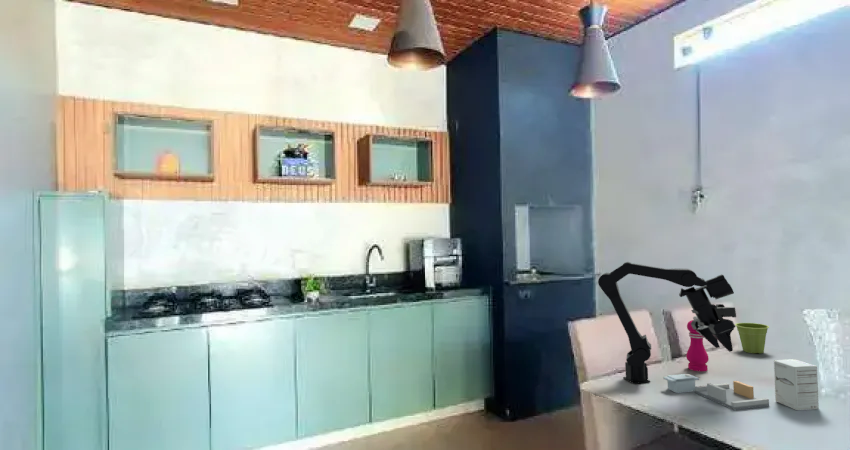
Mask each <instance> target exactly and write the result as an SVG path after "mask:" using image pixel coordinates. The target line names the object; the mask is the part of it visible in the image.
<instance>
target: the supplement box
mask: <svg viewBox="0 0 850 450" xmlns="http://www.w3.org/2000/svg"><path fill="white" fill-rule="evenodd" d="M773 368H774V391H775V392H774V396H775V399H774V400H775V402H777V403H778V404H782V405H783V406H786V407H789V408H791V409H793V410H795V411H806V410H807V411H810V410H811V411H812V410H820V409H819V407H820V406H819V383H818V379H819V378H818V366H817V365H816V364H815V365H814V364H811V363H807V362H805V361H802V360H798V359H795V358H791V359H789V358H787V359H776V360H774V361H773Z"/></svg>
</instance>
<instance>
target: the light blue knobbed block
mask: <svg viewBox="0 0 850 450" xmlns="http://www.w3.org/2000/svg"><path fill="white" fill-rule="evenodd" d="M662 378H663V380H665V381H667V389H668V390H669V391H671V392H674V393H676V394H680V393H690V392H691V393H692V392H695V386H696V381H699V380H700V377H697V376H694V375H693V374H689V373H682V374H681V373H680V374H669V375H667V376H663V377H662Z"/></svg>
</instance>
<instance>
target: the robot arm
mask: <svg viewBox="0 0 850 450" xmlns="http://www.w3.org/2000/svg"><path fill="white" fill-rule="evenodd" d="M628 275H634V276H642V277H645V278H646V277H647V278H654V279H659V280H664V281H668V282H670V283H673V284H676V285H679V286H682V287H685V288H686V289H683V288H682V287H681V288H680V292H678V295H679V297H680V298H682V297H686V298H687V301H688V303H689V304H690V306H691V308H692V309H691V312H692V314H694V315H695V316H697V318H698V319H695V320H694V319H692V320H693V321H692V323H691V325H692V327H693V329H695V330H696V331H697V332H698V333H699V334H701V335H702V336H703V337H704V338H703V339H705V340H706V341H707V342H709V343H710V344H711V345H712V346H713V347H715V348H716V349H719V348H720V344H721V345H722V346H723V347H724V348H725V349H726V350H727V351H728V352H733V351H734V347H733V344H732V343H733V341H732V339H731V338H732V337H731V334H732V332H733V331H734V329H735V328H736V326H735V323H734V321H733V320H731V319H729V318H737V312H736V307H732V306H725V305H724V304H723V303H722V304H721V303H717V304H712V303H711V301H710V299H709V297H710V298H713V299H715V300H719V299H721V298H725V297H728V296H731V295H733V294H734V292H735V291H734V289H733V287H732V286H731V284H730V283H729V282H728V280H727V279H726V277H725V275H724V274H720V275H717V276H714V277H713V278H710V279H707V280H705V279H704V278H701V277H699V276H697V273H695V271H694V270H692V269H690V268H665V267H664V268H663V267H656V266H652V265H651V266H650V265H645V264H638V263H632V262H629V261H626V262H624V263H623V264H621V265H620V266H618V267H617V268H615V269H614V270H613V271H611V272H604V273H602V274H601V275H600V276H599V278H598V280H597V284H598V286H599V288H600V289H601V290H602V292H603V293H604V294H605V296H606V297H607V298H608V299H609V300H610V302H611V304H612V306H613V307H612V308H614V311H615V313H616V316H617V317H618V319H619V321H620V323H621V325H622V327H623V329H624V331H625V333H626V335H627V338H628V342H629V346H630V350H629V351H628V352H627V354H626V357H625V359H626V360H625V361H626V362H625V363H624V365H625V366H624V369H625V376H623V377H622V379H624V380H626V381H627V382H630V383H631V384H635V385H637V384H646V383H651V380H650V379H649V369H648V367H647V363H646V361H648V360H649V359H650V358H651V357H652V355H651V354H652V353H651V352H652V351H651V350H652V344H651V343H650V342H649V341H648V337H647V335H646V334H643V335H642V334H641V333H640V332H639V331H638V327H637V326H636V324H635V322H634V320H633V318H632V316H631V314H630V311H629V310H628V308H627V306H626V304H625V302H624V300H623V297H622V296H621V292H620V289H619V288H620V287H619V284H618V282H619V281H621V280H622V279H623V278H625V277H626V276H628ZM694 286H696V287H694ZM705 290H706V291H705ZM706 292H707V294H708V295H707V294H706ZM719 343H720V344H719Z"/></svg>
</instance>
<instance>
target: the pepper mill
mask: <svg viewBox="0 0 850 450" xmlns="http://www.w3.org/2000/svg"><path fill="white" fill-rule="evenodd" d="M695 319H698V318H697V316H696V315H693V317H692V320H689V321H688V322H687V324H686V329H687V330H688V331H689V332H688V336H689V337H688V338H689V339H690V345H689V346H688V349H687V351H686V355H685V356H686V360H687V361H688V363H687V366H688V369H689V370H691V371H692V372H693V371H694V372H707V371H708V365H707V363H709V359H710V358H709V354H708V352H707V351H706V348H705V346H704V339H705V338H704V337H703V336H702V335H701V334H699V333H698V332H697V331H696V330H695V329H693V327H692V325H691V323H692V321H693V320H695Z"/></svg>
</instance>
